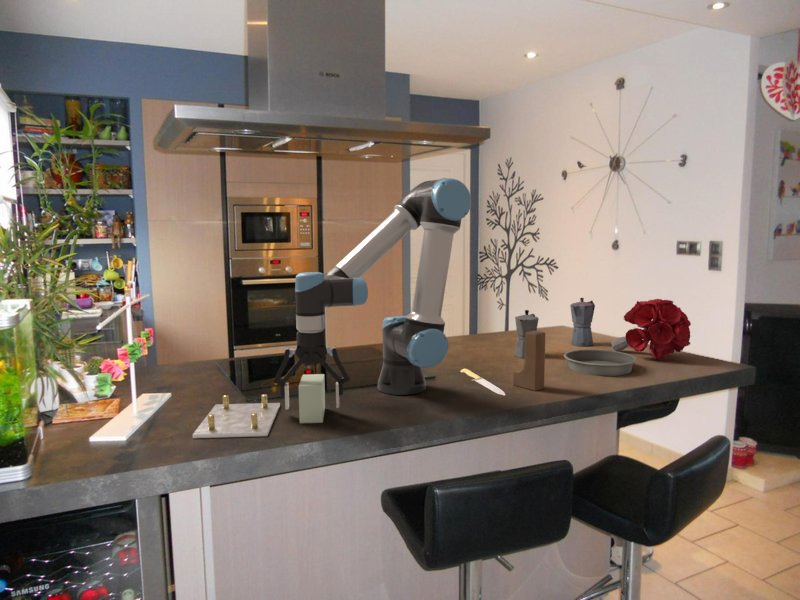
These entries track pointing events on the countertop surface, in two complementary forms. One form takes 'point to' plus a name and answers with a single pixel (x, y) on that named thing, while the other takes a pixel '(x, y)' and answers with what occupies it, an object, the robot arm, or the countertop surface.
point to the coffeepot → (524, 331)
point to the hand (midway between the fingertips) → (312, 407)
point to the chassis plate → (238, 420)
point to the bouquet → (655, 328)
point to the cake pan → (600, 362)
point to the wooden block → (532, 363)
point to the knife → (483, 381)
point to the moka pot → (582, 322)
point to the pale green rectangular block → (312, 398)
